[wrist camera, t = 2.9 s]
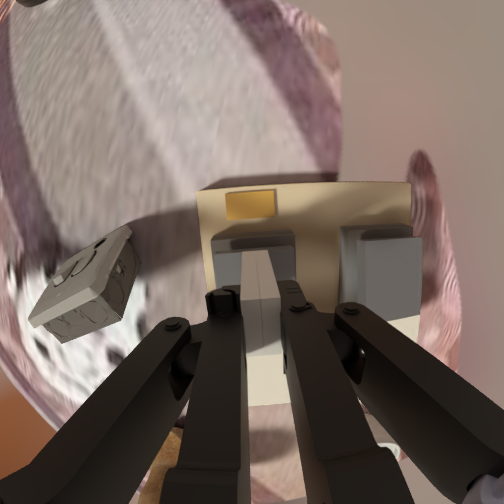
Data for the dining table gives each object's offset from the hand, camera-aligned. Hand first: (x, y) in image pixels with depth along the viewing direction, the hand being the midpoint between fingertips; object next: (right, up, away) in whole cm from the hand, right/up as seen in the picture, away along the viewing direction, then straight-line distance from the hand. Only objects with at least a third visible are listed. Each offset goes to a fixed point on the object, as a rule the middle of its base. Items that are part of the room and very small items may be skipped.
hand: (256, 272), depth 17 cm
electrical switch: (-14, 0, +7) cm, 16 cm away
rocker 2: (+10, -4, +3) cm, 11 cm away
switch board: (+5, -3, +8) cm, 10 cm away
